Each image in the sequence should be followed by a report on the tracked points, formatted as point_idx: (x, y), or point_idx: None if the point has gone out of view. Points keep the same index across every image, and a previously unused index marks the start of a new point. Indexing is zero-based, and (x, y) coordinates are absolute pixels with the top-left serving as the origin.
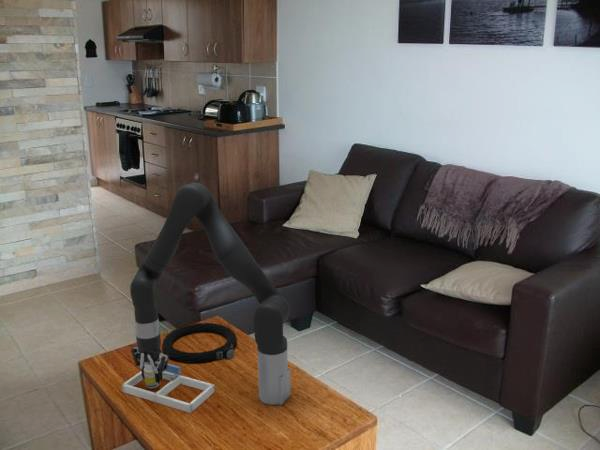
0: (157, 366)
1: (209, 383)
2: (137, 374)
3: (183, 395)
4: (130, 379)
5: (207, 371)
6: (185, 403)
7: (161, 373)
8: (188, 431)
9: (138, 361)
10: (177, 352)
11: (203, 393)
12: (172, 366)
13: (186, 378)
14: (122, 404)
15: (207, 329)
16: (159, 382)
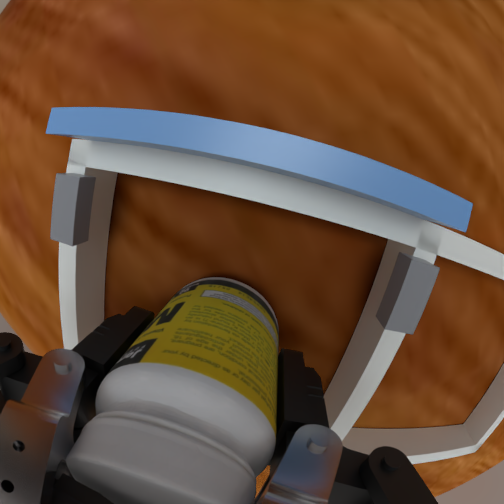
0: (255, 446)
1: None
2: (64, 281)
3: (443, 354)
4: (68, 345)
5: (489, 76)
6: (462, 451)
7: (324, 425)
8: (446, 476)
9: (4, 395)
10: None
11: None
12: (389, 202)
13: (482, 266)
14: None
15: None
16: (278, 339)
